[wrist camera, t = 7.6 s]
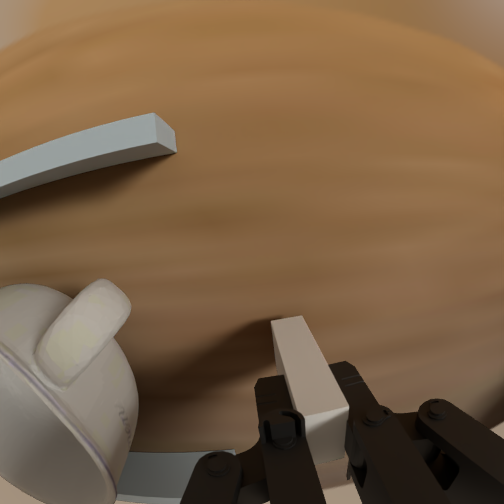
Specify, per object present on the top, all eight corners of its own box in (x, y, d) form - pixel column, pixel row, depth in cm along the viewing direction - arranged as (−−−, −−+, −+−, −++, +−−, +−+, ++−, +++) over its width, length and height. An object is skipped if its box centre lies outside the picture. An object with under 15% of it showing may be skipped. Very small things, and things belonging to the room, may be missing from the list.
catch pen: (173, 124, 12) (144, 94, 7) (237, 459, 17) (241, 519, 12) (-46, 195, 12) (-102, 206, 7) (53, 451, 17) (32, 495, 11)
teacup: (77, 433, 16) (41, 515, 8) (-22, 314, 14) (-95, 370, 6) (237, 359, 15) (250, 485, 8) (111, 181, 13) (-2, 191, 5)
